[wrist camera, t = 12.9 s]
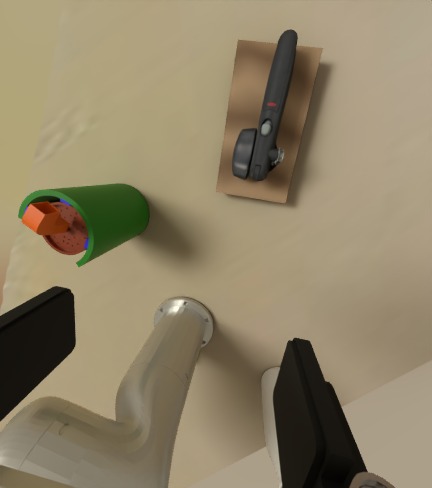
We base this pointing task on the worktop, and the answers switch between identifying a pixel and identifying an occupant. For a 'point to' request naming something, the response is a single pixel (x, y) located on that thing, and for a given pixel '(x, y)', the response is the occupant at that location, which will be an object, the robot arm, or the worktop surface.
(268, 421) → the milk bottle
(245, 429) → the worktop surface
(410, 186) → the worktop surface
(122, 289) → the worktop surface
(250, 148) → the can opener
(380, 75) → the worktop surface
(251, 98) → the stand
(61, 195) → the motor
